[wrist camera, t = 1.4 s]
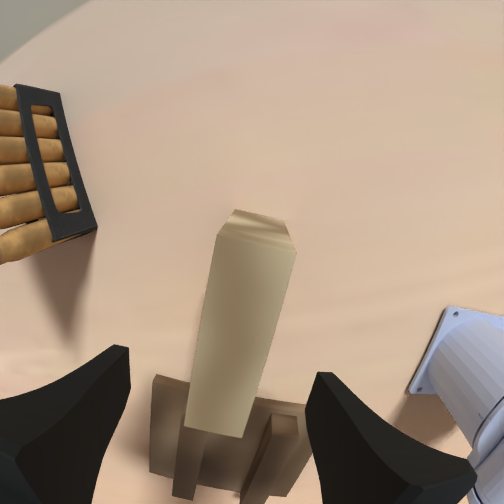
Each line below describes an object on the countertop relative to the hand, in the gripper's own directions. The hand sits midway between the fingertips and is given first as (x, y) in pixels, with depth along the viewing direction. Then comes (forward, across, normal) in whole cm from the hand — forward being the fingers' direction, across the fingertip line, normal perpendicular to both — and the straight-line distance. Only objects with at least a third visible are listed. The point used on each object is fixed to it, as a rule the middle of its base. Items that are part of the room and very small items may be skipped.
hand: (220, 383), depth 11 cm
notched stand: (+10, -2, +15) cm, 18 cm away
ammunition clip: (+11, +13, -7) cm, 18 cm away
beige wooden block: (+10, -1, 0) cm, 10 cm away
